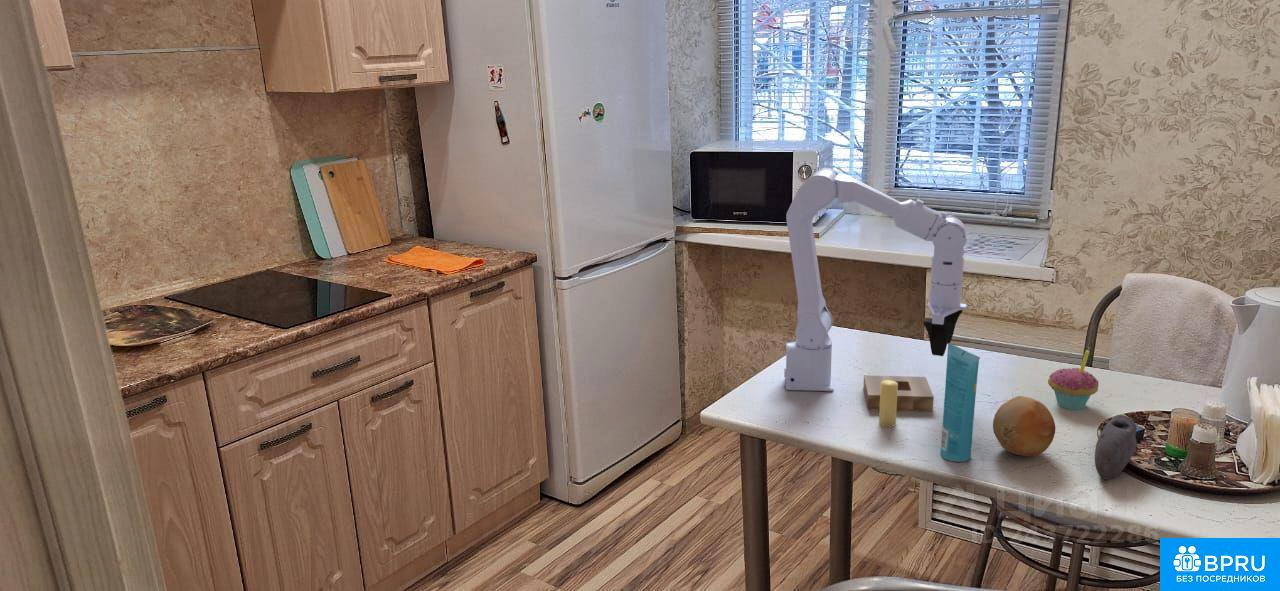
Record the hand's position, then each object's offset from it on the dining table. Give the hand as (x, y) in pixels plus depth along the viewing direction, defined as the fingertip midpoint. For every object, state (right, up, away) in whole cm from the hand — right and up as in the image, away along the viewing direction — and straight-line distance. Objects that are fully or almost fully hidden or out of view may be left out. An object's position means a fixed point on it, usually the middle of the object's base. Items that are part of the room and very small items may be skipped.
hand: (941, 348), depth 170 cm
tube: (-5, -17, -21) cm, 28 cm away
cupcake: (+23, -11, -3) cm, 26 cm away
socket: (-8, -10, +2) cm, 13 cm away
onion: (+6, -17, -21) cm, 27 cm away
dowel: (-13, -13, -8) cm, 20 cm away
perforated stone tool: (+19, -18, -27) cm, 37 cm away
